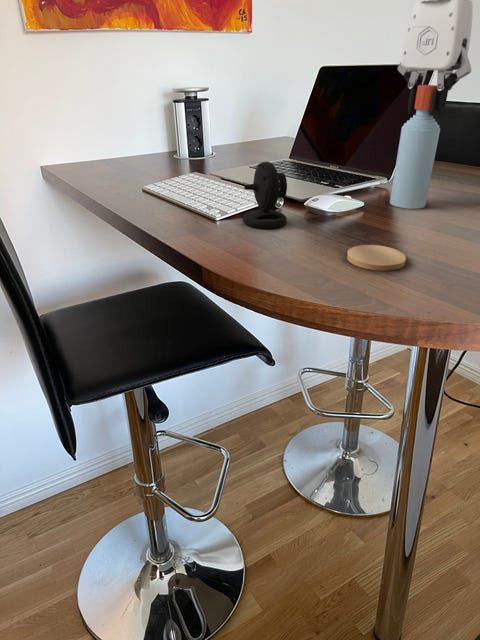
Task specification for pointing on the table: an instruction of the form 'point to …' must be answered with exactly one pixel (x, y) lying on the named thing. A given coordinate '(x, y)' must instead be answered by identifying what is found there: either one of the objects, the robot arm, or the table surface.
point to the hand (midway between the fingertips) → (425, 113)
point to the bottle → (415, 161)
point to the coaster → (376, 257)
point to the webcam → (266, 197)
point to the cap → (424, 96)
